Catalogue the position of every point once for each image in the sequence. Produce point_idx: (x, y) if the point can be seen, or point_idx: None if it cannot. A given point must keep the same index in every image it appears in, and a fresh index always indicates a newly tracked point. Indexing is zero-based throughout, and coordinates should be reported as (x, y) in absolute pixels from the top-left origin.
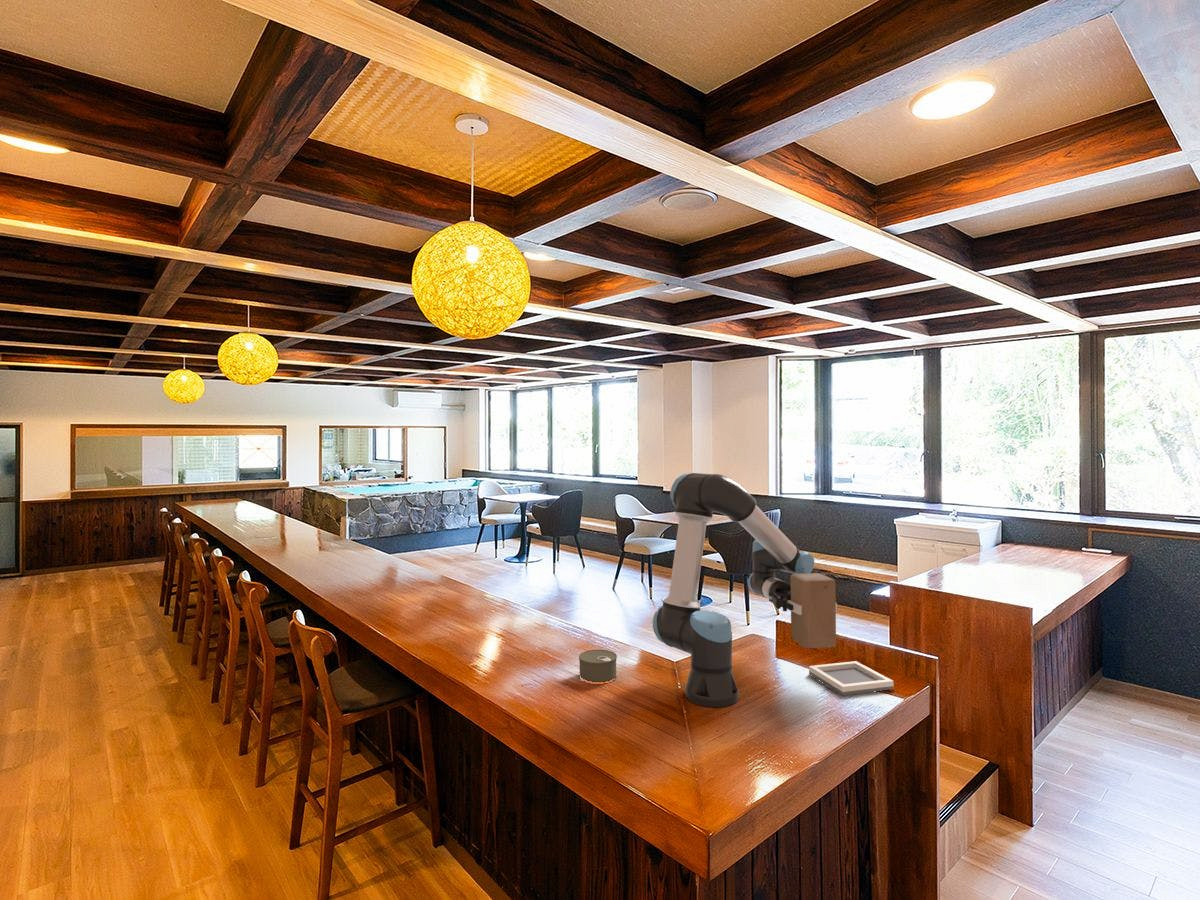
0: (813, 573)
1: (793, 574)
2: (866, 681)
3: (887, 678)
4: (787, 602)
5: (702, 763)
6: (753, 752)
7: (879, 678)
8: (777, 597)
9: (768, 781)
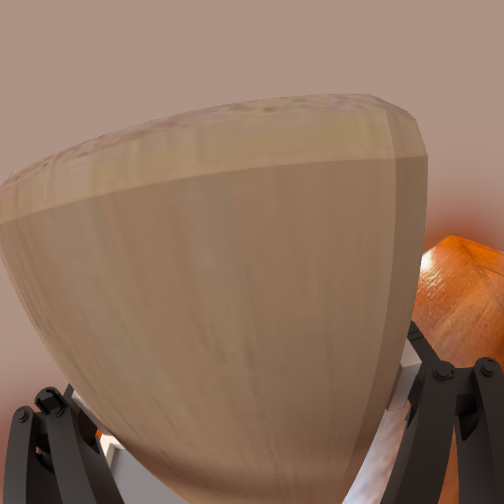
0: (64, 151)
1: (377, 100)
2: (136, 473)
3: (101, 444)
4: (418, 374)
5: (479, 277)
6: (439, 293)
7: (107, 461)
8: (496, 456)
9: (422, 264)
